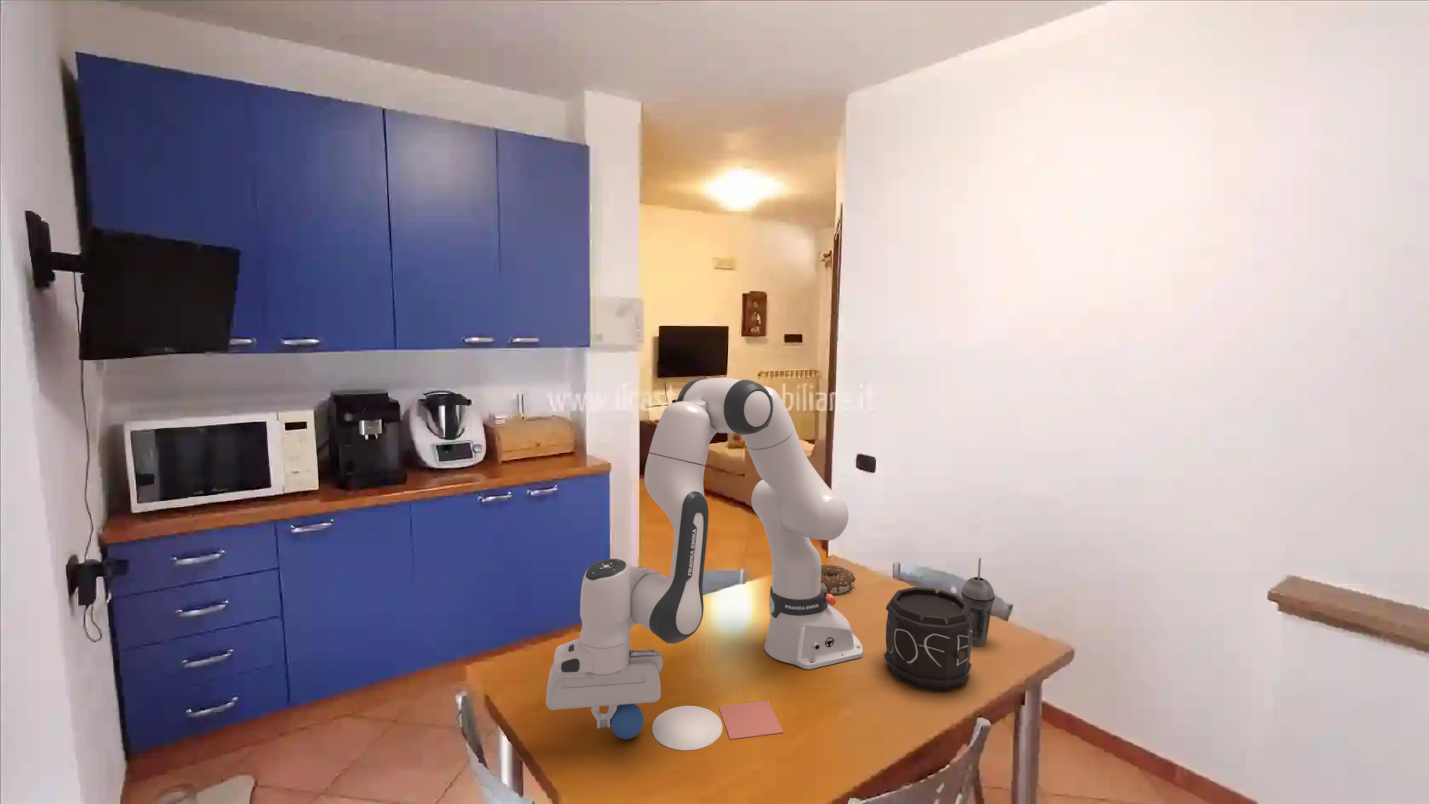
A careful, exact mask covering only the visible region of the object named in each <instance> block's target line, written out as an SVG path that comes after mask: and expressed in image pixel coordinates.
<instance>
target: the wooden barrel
mask: <svg viewBox="0 0 1429 804" xmlns="http://www.w3.org/2000/svg"><path fill="white" fill-rule="evenodd" d="M885 609H886V611H887V618H886V624H885V649H886V652H885V654H884V655H883V657H884V660H885V662H886V663H887V664H888V667H889V668H890V670H891V671H892V673H893V674H894V676H895V677H896V679H897V680H900V681H902V682H904V683H905V684H908V685H909V686H913V687H914V688H916V689H919V690H920V689H921V690H925V691H926V690H928V691H934V692H936V691H937V692H946V691H949V690H953V689H956V688H960V687H962V686H963V683H964V682H966V681H967V678H968V676H969V674H970V673H969V672H970V670H971V667H972V664H971V661H970V659H971V654H972V647H973V645H972V621H973V618H974V614H973V612H971V611H970V607H969V605H968V604H967V603H966V602H964V601H963V599H962V598H961V597H960V596H959V595H957V594H954V593H951V592H949V591H945V590H941V589H939V591H938V592H937V590H936V589H935V588H931V587H930V588H929V587H920V586H913V587H907V588H903V589H899V590H897V591H896V592H895V593H894V595H893V596H892V597H891V598H890V600H889V602H888V603H887V604H886V607H885Z"/></svg>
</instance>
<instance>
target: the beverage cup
mask: <svg viewBox="0 0 1429 804" xmlns="http://www.w3.org/2000/svg"><path fill="white" fill-rule="evenodd" d="M981 562H982V558H981V557H980V558H978V564H977V565H978V566H977V576H975V577H973V576H972V577H971V578H969V579H967V580H966V581H965V583H964V585H963V586H962V590H961V597H962V598H961V599H962V600H963V601H964V602H966V603H967V604H968V605H969V607H970V611H971V612H973V614H974V618H973V621H972V646H975V647H983V646H986V644H987V638H988V634H989V628H990V627H989V626H990V621H991V616H992V615H991V613H992V608H993V605H994V602H995V601H994V600H995V598H996V597H995V591H994V589H993V586H992V584H991V583H990V582H989V581H988V580H987V579H985V578H982V577H981V570H982V569H981V565H982V563H981Z"/></svg>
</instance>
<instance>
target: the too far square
mask: <svg viewBox="0 0 1429 804" xmlns="http://www.w3.org/2000/svg"><path fill="white" fill-rule="evenodd" d="M718 709H719V711H720V714H721V718H722V720H723V723H724V726H725V728H726V733H727V735H728V738H729V740H731V741H732V740H740V739H746V738H755V737H762V736H770V735H778V734H784V730H783V728H782V726H781V724H780V722H779V720H778V718H777V716H776V714H775V712H774V710H773V707H772V706H771V703H770V702H769V700H764V701H763V700H762V701H755V702H746V703H744V702H743V703H737V704H729V705H720V706H718Z"/></svg>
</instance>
